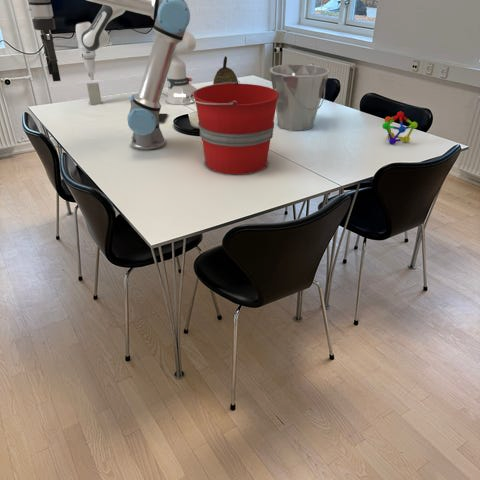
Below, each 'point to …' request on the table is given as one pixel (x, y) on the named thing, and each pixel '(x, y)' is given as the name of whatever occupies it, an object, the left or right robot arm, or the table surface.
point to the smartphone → (162, 117)
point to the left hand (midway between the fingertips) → (54, 77)
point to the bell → (225, 74)
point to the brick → (94, 93)
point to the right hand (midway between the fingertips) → (91, 78)
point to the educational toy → (398, 128)
